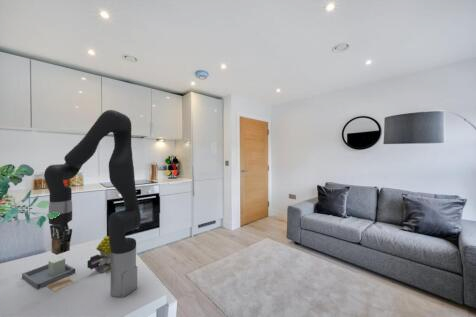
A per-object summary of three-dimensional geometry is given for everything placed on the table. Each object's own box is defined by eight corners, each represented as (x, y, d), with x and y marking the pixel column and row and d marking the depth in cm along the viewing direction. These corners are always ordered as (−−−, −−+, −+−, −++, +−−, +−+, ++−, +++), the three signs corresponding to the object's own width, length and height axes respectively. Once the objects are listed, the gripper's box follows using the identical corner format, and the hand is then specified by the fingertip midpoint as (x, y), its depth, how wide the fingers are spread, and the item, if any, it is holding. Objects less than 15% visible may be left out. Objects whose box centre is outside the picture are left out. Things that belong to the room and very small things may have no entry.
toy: (82, 274, 93) (82, 242, 93) (110, 261, 105) (111, 233, 104) (93, 280, 89) (94, 247, 88) (122, 266, 100) (122, 237, 100)
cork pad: (74, 283, 87) (74, 281, 87) (53, 293, 80) (53, 291, 80) (66, 278, 90) (66, 277, 90) (46, 287, 83) (46, 286, 83)
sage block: (65, 271, 94) (65, 258, 94) (53, 276, 90) (53, 263, 90) (60, 268, 96) (60, 256, 96) (48, 273, 92) (48, 260, 92)
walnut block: (69, 250, 86) (69, 236, 86) (56, 254, 82) (56, 240, 82) (64, 248, 88) (64, 234, 88) (51, 252, 84) (51, 238, 84)
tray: (75, 274, 93) (75, 268, 93) (37, 290, 81) (37, 284, 81) (58, 265, 100) (58, 260, 100) (22, 279, 89) (22, 273, 89)
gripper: (79, 211, 85) (79, 250, 85) (63, 206, 91) (63, 243, 91) (57, 215, 78) (57, 258, 78) (41, 210, 84) (41, 250, 85)
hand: (60, 250), depth 85 cm, fingers closed on walnut block, 4 cm apart
